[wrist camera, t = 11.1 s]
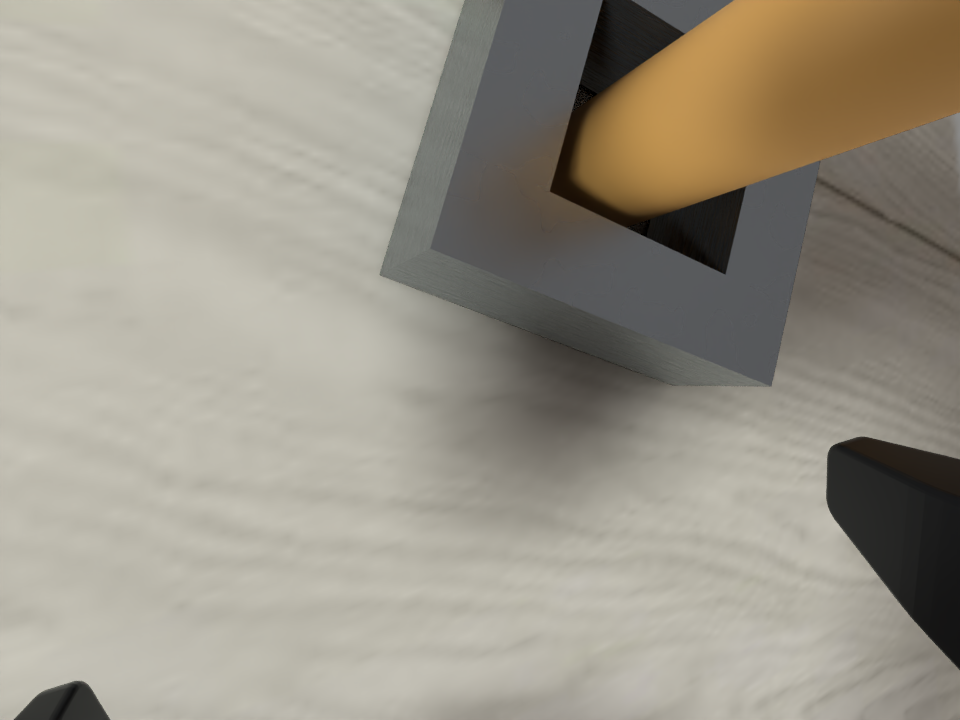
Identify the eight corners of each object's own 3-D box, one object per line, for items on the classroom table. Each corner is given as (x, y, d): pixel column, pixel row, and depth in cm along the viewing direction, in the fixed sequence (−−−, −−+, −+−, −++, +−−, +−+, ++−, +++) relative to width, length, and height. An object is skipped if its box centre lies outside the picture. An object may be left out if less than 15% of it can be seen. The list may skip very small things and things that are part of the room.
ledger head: (672, 385, 22) (771, 386, 18) (379, 274, 18) (430, 248, 15) (788, -100, 25) (895, -184, 21) (552, -283, 21) (633, -425, 17)
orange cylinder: (636, 238, 22) (1200, 61, 10) (534, 239, 20) (1048, 32, 8) (627, 123, 22) (1179, -197, 10) (524, 115, 20) (1025, -272, 8)
